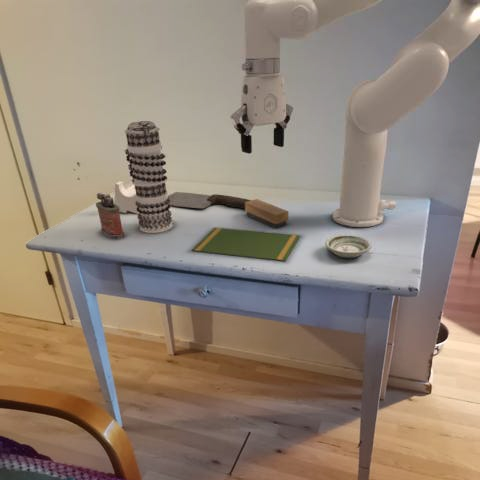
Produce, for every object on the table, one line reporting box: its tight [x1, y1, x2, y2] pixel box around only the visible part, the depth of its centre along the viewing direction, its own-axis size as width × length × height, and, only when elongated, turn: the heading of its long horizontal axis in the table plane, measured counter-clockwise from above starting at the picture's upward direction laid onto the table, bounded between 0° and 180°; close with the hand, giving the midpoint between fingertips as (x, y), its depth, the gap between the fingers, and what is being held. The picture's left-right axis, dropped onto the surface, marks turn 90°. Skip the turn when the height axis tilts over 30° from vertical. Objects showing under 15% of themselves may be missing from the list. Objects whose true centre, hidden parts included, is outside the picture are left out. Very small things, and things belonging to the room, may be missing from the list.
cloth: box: [191, 227, 301, 262], centre depth 105 cm, size 22×14×1 cm, turn 71°
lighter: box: [95, 192, 125, 240], centre depth 111 cm, size 8×3×10 cm, turn 45°
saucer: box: [324, 234, 372, 259], centre depth 98 cm, size 10×10×2 cm
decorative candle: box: [124, 120, 173, 234], centre depth 110 cm, size 9×9×25 cm
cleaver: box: [168, 191, 253, 210], centre depth 129 cm, size 30×10×2 cm, turn 62°
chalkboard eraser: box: [244, 198, 289, 229], centre depth 116 cm, size 4×13×4 cm, turn 36°
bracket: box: [114, 180, 139, 215], centre depth 129 cm, size 13×7×8 cm, turn 168°
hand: (263, 149), depth 108 cm, fingers open, 9 cm apart
